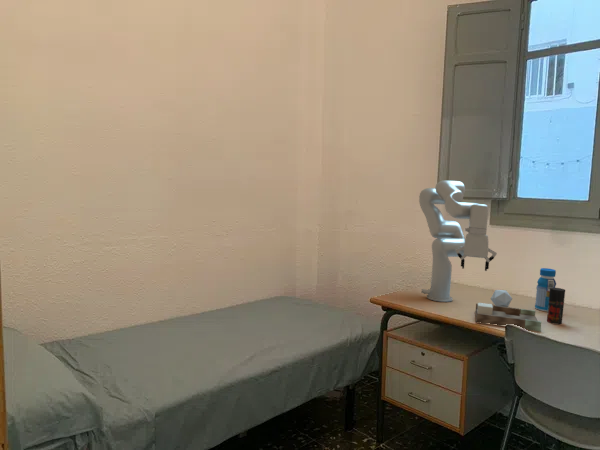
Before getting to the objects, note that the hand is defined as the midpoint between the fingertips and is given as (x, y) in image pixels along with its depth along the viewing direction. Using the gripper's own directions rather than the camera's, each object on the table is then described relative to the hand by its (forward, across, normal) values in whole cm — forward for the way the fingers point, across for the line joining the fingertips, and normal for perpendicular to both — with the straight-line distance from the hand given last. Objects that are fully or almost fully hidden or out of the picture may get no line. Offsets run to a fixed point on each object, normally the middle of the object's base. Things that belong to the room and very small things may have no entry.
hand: (474, 269), depth 213 cm
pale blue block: (+19, +6, -2) cm, 20 cm away
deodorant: (+22, +35, +8) cm, 42 cm away
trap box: (+21, +15, -1) cm, 26 cm away
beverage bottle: (+21, +34, +30) cm, 50 cm away
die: (+21, +14, +25) cm, 35 cm away
